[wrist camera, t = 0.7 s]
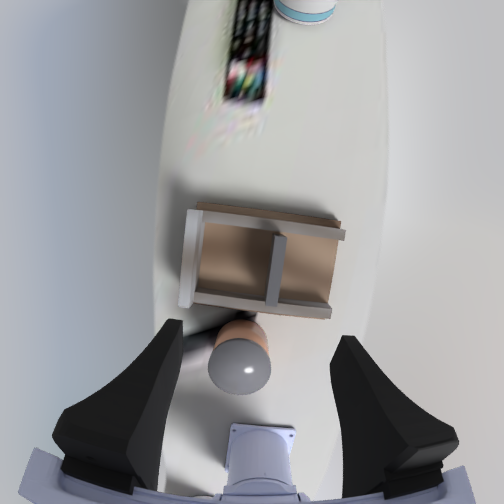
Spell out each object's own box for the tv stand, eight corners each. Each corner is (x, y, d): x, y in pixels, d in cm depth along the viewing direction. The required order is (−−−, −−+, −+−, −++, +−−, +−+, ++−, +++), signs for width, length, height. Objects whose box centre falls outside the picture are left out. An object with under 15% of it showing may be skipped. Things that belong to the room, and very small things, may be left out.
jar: (264, 368, 32) (266, 398, 27) (213, 362, 32) (205, 390, 26) (271, 321, 32) (275, 345, 26) (218, 315, 32) (210, 337, 26)
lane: (322, 316, 32) (333, 333, 27) (189, 299, 32) (177, 314, 27) (338, 221, 30) (353, 222, 25) (199, 202, 30) (188, 200, 25)
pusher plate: (274, 294, 30) (277, 307, 26) (264, 293, 30) (265, 305, 26) (283, 234, 29) (287, 237, 25) (272, 233, 29) (275, 236, 25)
